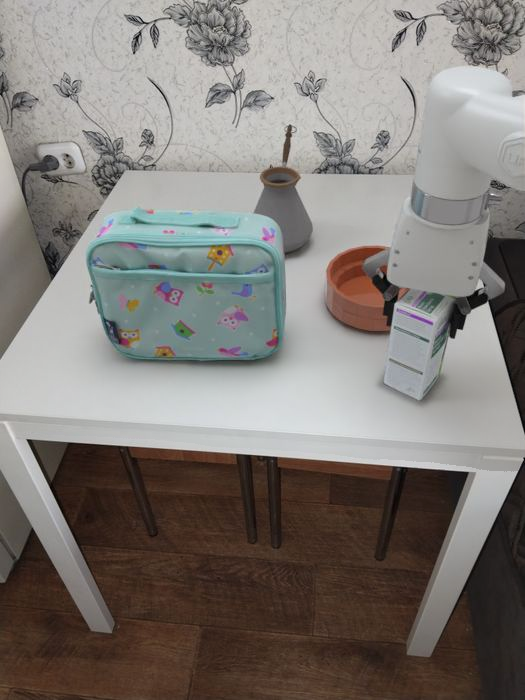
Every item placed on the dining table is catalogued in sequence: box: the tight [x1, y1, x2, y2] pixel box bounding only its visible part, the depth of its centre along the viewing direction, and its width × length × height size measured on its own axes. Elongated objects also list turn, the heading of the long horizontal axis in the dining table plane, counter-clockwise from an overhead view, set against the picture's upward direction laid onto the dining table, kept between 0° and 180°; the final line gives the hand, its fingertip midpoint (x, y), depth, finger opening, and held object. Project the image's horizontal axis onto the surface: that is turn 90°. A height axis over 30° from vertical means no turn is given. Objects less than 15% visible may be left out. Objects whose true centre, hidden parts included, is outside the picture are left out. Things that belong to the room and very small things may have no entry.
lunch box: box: [85, 206, 287, 362], centre depth 80 cm, size 27×10×21 cm, turn 87°
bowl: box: [324, 245, 409, 332], centre depth 91 cm, size 15×15×6 cm
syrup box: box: [383, 288, 456, 402], centre depth 76 cm, size 6×6×14 cm
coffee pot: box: [253, 123, 314, 254], centre depth 104 cm, size 21×12×15 cm, turn 171°
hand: (421, 324), depth 74 cm, fingers closed on syrup box, 7 cm apart
